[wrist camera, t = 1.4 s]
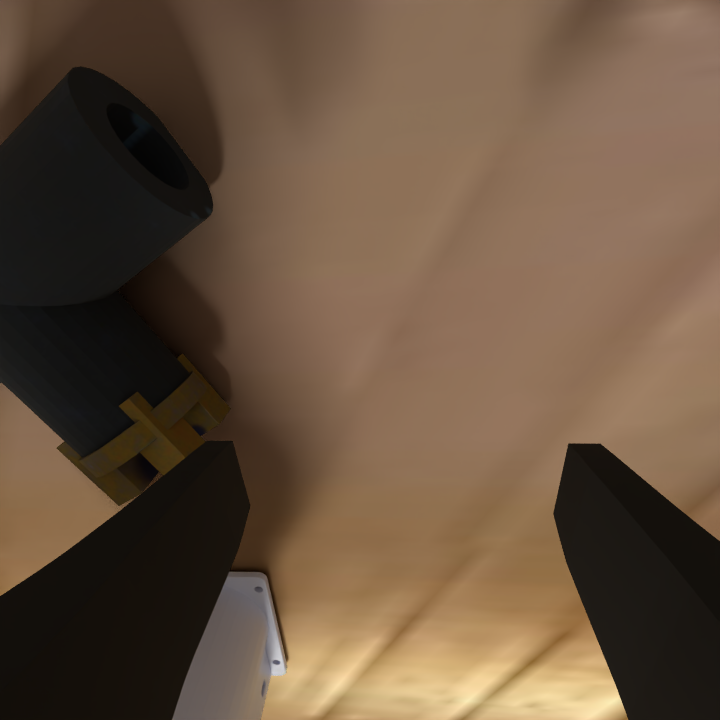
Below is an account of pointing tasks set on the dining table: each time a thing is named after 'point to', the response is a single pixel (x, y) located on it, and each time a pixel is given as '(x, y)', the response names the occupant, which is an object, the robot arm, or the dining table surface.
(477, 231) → the dining table surface
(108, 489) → the pipe connector
